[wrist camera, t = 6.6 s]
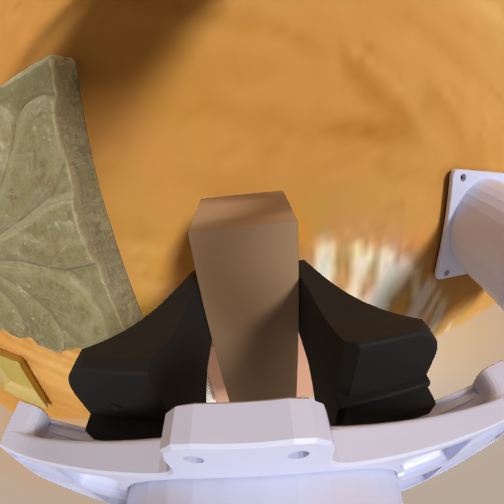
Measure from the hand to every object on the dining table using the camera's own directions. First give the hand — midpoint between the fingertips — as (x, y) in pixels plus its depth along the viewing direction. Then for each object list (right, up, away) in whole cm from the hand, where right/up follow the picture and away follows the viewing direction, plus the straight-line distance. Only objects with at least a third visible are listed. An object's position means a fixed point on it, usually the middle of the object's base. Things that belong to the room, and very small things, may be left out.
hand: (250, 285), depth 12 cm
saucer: (-28, -12, +11) cm, 32 cm away
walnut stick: (0, -1, +2) cm, 3 cm away
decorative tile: (-18, +3, +3) cm, 19 cm away
